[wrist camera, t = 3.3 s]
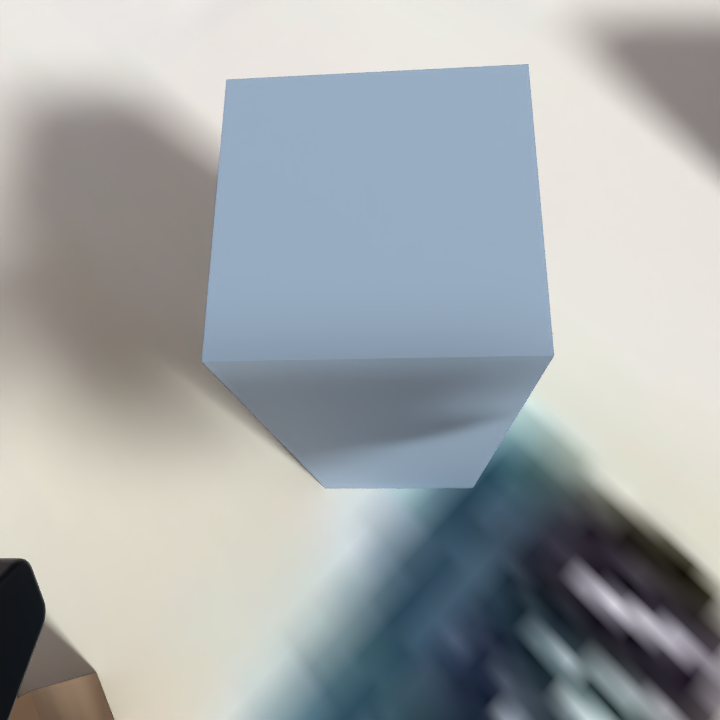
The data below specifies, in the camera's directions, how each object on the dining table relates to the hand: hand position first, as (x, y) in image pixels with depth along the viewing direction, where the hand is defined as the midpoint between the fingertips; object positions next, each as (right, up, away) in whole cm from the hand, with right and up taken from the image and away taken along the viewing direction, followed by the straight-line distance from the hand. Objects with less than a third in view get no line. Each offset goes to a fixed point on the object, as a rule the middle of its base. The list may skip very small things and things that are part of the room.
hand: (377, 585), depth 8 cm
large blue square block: (+1, +1, +13) cm, 13 cm away
